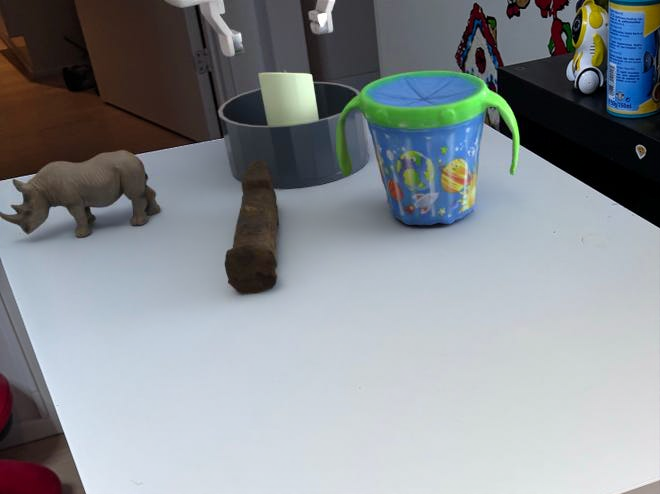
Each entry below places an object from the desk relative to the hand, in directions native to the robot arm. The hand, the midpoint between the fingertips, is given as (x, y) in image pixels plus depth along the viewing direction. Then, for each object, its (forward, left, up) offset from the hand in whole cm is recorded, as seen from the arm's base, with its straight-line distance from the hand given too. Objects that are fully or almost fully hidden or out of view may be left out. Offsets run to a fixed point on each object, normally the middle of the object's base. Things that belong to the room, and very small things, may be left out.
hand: (279, 43), depth 95 cm
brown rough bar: (-1, -21, -11) cm, 23 cm away
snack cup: (+14, -15, -11) cm, 23 cm away
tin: (0, 0, -11) cm, 11 cm away
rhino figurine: (-17, -15, -11) cm, 25 cm away
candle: (0, 0, -10) cm, 10 cm away
